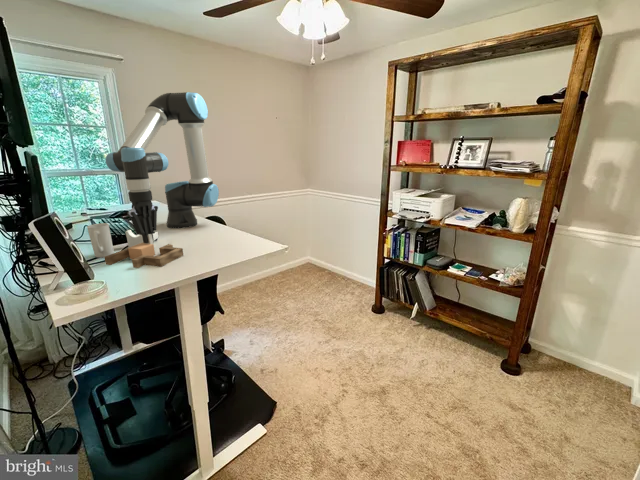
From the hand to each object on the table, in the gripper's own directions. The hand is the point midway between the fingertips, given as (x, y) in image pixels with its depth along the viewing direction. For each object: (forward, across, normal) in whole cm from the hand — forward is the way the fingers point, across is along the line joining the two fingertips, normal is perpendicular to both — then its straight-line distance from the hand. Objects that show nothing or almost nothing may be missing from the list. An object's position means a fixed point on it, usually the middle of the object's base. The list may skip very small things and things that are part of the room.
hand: (150, 250), depth 120 cm
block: (+2, +4, 0) cm, 4 cm away
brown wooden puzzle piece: (+2, +5, +3) cm, 6 cm away
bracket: (+2, -11, -13) cm, 17 cm away
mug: (+2, +7, -16) cm, 17 cm away
